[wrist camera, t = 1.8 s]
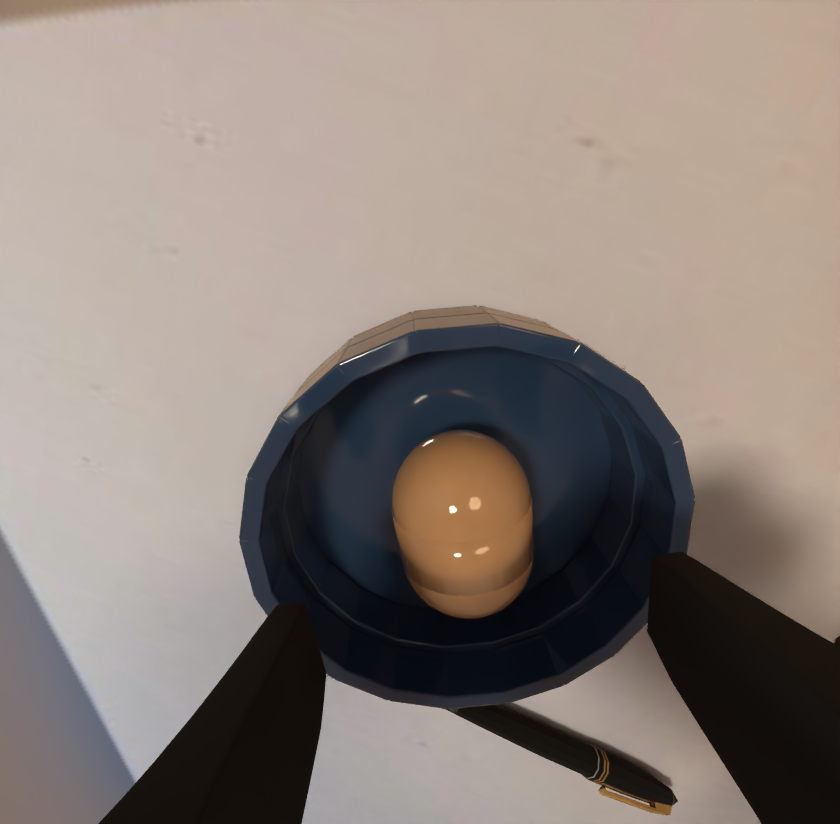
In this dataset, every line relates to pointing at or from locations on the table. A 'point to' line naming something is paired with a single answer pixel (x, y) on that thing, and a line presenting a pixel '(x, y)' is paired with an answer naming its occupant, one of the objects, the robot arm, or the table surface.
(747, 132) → the table surface
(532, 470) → the basin
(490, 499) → the egg
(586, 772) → the fountain pen
